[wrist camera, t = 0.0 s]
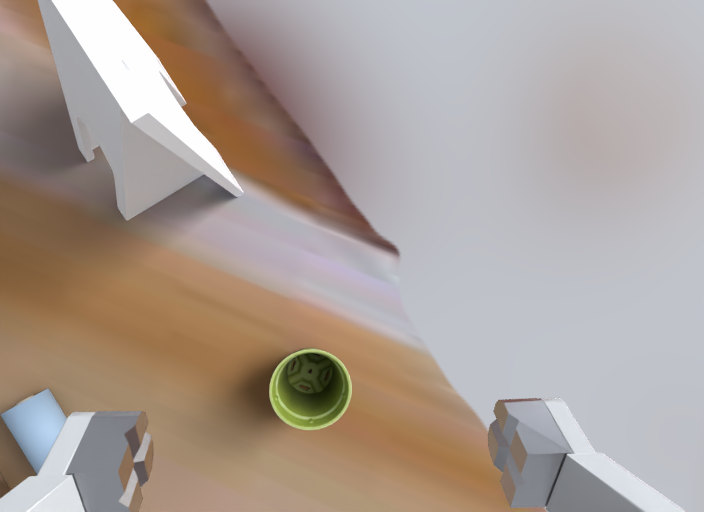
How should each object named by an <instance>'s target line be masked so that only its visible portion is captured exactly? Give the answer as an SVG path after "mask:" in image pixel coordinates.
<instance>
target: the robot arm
mask: <svg viewBox="0 0 704 512" xmlns="http://www.w3.org/2000/svg"><path fill="white" fill-rule="evenodd" d="M494 413H495V416H496V418H497V419H496V420H495V421H494V422H492V423H491V424H490V427H489V432H488V447H489V451H490V456H491V458H492V461H493V464H494V465H495V466H496V467H497V468H498V469H499V470H501V471H502V472H503V474H502V477H501V481H500V482H501V485H502V488H503V490H504V493H505V495H506V498H507V500H508V503H509V505H510V508H518V507H546V509H547V510H548V511H549V512H686V511H685V510H683V509H682V508H680V507H679V506H678V505H676V504H675V503H673V502H672V501H670V500H669V499H667V498H666V497H665V496H663V495H662V494H660V493H659V492H657V491H656V490H655V489H653V488H652V487H650V486H649V485H647V484H646V483H644V482H643V481H642V480H640V479H639V478H637V477H636V476H635V475H633V474H632V473H630V472H629V471H627V470H626V469H624V468H623V467H622V466H620V465H619V464H617V463H616V462H614V461H613V460H611V459H610V458H609V457H607V456H606V455H604V454H603V453H596V452H595V451H594V449H593V448H592V446H591V444H590V443H589V441H588V439H587V438H586V436H585V435H584V433H583V431H582V430H581V428H580V426H579V425H578V423H577V421H576V420H575V418H574V416H573V415H572V413H571V411H570V410H569V408H568V407H567V405H566V403H565V402H564V400H562V399H561V398H559V397H558V398H539V399H537V398H529V399H508V400H507V399H505V400H498V401H497V403H496V404H495V408H494ZM147 425H148V419H147V416H146V412H143V411H97V412H73V413H72V414H71V415H70V416H69V417H68V418H67V419H66V421H65V423H64V425H63V427H62V429H61V431H60V433H59V434H58V436H57V438H56V440H55V442H54V444H53V446H52V448H51V450H50V452H49V453H48V455H47V457H46V459H45V461H44V463H43V465H42V467H41V469H40V471H39V472H38V474H37V476H29V477H28V478H27V479H25V480H24V481H23V482H21V483H20V484H19V485H18V486H16V487H15V488H14V489H12V490H11V491H10V492H8V493H7V494H6V495H4V496H3V497H2V498H1V499H0V512H139V509H140V506H141V503H142V499H143V497H142V493H141V489H140V487H141V486H142V485H143V484H144V483H145V482H147V481H148V479H149V476H150V472H151V469H152V462H153V441H152V436H150V435H149V434H148V433H146V432H145V431H146V428H147Z"/></svg>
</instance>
